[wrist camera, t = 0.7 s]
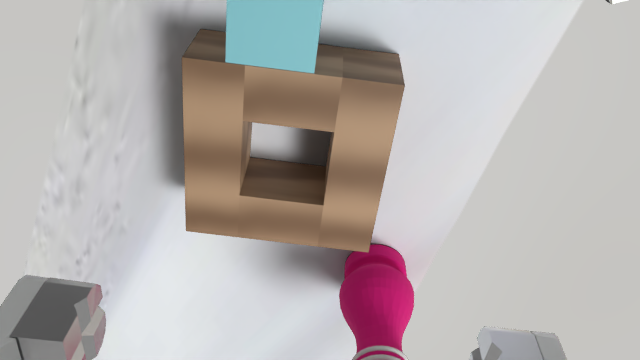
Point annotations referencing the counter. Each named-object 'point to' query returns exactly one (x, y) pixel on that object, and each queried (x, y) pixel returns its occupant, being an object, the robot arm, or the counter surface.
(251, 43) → the teal rectangular block
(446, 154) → the counter surface
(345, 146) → the wooden holder
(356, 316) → the pepper mill
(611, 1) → the candy box
